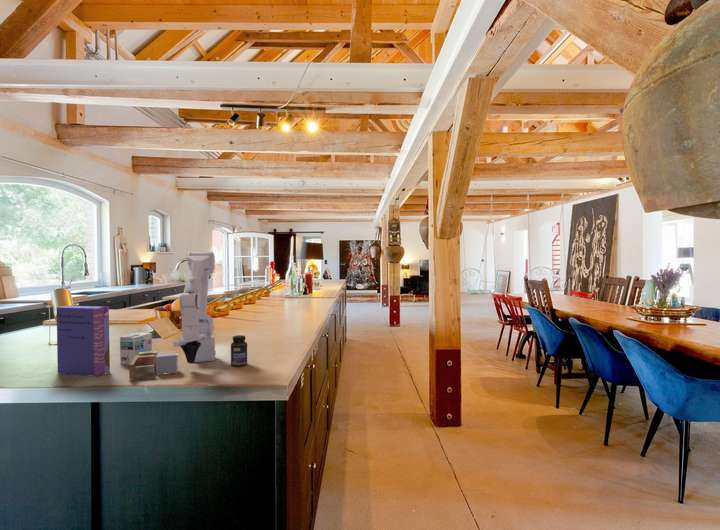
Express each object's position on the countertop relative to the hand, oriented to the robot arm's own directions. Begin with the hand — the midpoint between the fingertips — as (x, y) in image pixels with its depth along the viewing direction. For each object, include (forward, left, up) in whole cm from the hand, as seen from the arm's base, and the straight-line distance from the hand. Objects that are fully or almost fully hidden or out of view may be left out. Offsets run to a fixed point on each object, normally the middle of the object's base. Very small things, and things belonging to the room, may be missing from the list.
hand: (190, 362), depth 149 cm
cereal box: (+36, -11, -3) cm, 38 cm away
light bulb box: (+20, -23, -3) cm, 31 cm away
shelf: (+16, -1, -3) cm, 16 cm away
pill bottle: (-17, -1, -3) cm, 17 cm away
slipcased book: (+8, 0, -3) cm, 8 cm away
